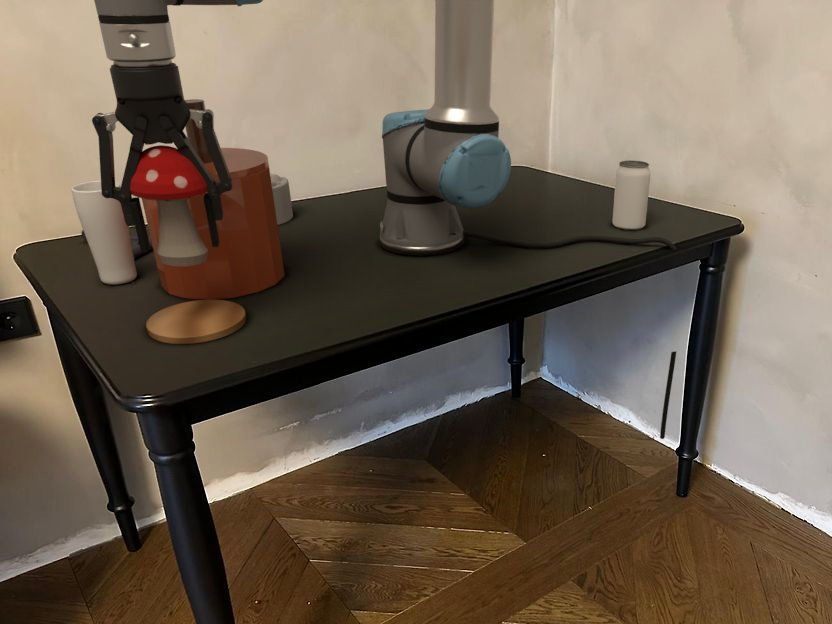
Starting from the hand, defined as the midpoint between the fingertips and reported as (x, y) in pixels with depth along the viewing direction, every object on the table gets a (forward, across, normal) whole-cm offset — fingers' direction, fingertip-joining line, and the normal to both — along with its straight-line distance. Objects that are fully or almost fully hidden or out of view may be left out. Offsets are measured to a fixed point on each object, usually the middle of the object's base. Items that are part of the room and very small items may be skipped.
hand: (181, 246), depth 101 cm
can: (+11, +78, +27) cm, 83 cm away
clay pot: (+11, +3, +18) cm, 22 cm away
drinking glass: (+12, -13, +21) cm, 27 cm away
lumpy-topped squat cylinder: (+11, +9, +49) cm, 51 cm away
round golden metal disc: (+11, 0, 0) cm, 11 cm away
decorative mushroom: (+2, 0, 0) cm, 2 cm away
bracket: (+12, -15, +40) cm, 44 cm away
